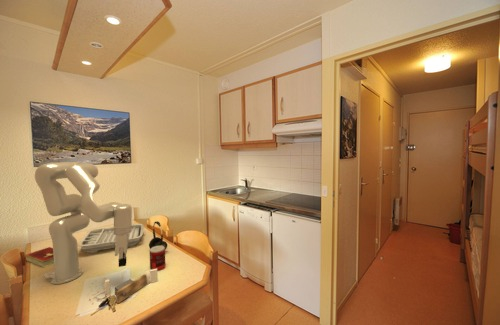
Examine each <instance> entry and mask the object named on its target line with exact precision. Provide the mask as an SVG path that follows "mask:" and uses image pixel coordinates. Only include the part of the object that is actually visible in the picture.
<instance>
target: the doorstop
mask: <svg viewBox="0 0 500 325" xmlns="http://www.w3.org/2000/svg"><path fill="white" fill-rule="evenodd" d="M133 281H134V280H133V279H131V278H129V279H128V280H125V281H124V282H123V281H122V283H119V284H117V285H115V286H114V296H115V295H116V292H117V291H118V290H120V289H121V288H123V287H125V286H126V285H128V284H129V283H131V282H133Z"/></svg>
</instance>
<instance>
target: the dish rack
mask: <svg viewBox="0 0 500 325" xmlns="http://www.w3.org/2000/svg"><path fill="white" fill-rule="evenodd" d="M144 226H145V225H144V224H142V223H134V224H133V223H132V230H131V233H129V243H128V248H129V247H135V246H136V245H137V244H138V243H140V242H141V240H142V239H141V238H142V237H143V234H144V228H145V227H144ZM115 242H116V235H114V226H111V227H110V226H109V227H101V228H94V229H91V230H89V231H87V232H86V233H85V235H84V236H83V237H82V238H81V240H79V242H77V245H78V247H79V248H81V251H82V252H83V253H88V254H95V253H97V252H98V251H101V250H108V249H109V250H110V249H115Z"/></svg>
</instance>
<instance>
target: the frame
mask: <svg viewBox="0 0 500 325" xmlns="http://www.w3.org/2000/svg"><path fill="white" fill-rule="evenodd" d="M144 274H145V275H146V283H147V284H146V285H149V284H152V283H157V282H158V279H159V278H158V271H157V269H152V270H151V269H150V270H149V269H147V270H145V271H144ZM110 282H111V279H110V278H108V279H105V281H104V290H105V291H104V292H105V296H107V295H110V294H111V283H110ZM109 293H110V294H109ZM106 294H107V295H106Z"/></svg>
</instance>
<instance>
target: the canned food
mask: <svg viewBox="0 0 500 325" xmlns="http://www.w3.org/2000/svg"><path fill="white" fill-rule="evenodd" d="M149 268H150V270H152V269H157V272H159V271H162V270H164V269H165V268H166V250H165V247H164V246H155V247H152V248H151V249H150V248H149Z"/></svg>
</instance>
